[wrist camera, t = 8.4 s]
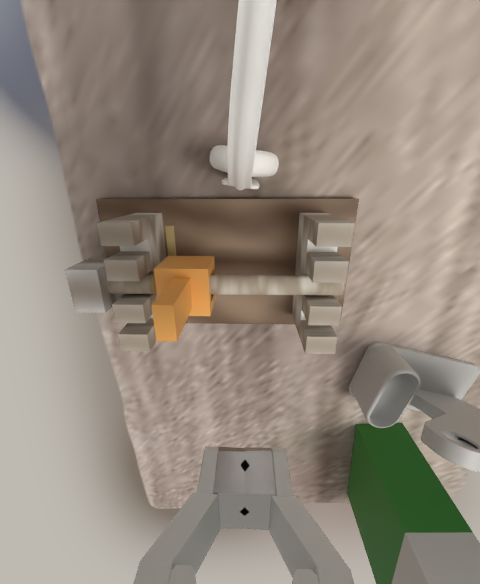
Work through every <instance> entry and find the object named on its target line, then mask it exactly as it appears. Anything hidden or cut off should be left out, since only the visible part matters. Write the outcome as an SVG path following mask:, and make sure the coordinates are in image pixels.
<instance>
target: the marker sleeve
mask: <svg viewBox="0 0 480 584" xmlns="http://www.w3.org/2000/svg"><path fill="white" fill-rule="evenodd" d="M154 275H155V283H156V291H157V299H156V300H155V301H154V302H153V304H152V305H151V306H152V313H153V321H154V328H155V335H156V341H178V338H179V336H180V334H181V332H182V330H183V327H184V325H185V323H186V321H187V319H188V316H211V312H212V309H213V305H214V302H215V298H216V294H211V287H210V275H215V263H214V256H167V257H166V258H165V259H164V260H163V261H162V262H161V263H160V264H158V265H157V266H156V267H155V268H154Z"/></svg>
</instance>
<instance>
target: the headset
mask: <svg viewBox="0 0 480 584" xmlns="http://www.w3.org/2000/svg"><path fill="white" fill-rule="evenodd" d="M276 2H277V0H239V3H238V13H237V24H236V35H235V46H234V57H233V69H232V81H231V94H230V107H229V123H228V146H225V145H217V146H215V147H213V148H212V150H211V152H210V163H211V165H212V167H214V168H215V169H218V170H220V171H223V172H227V173H228V177H226V178H224V179H223V180H222V184H224V185H228V186H233V187H235V188H236V189H237V190H240V191H241V190H243V189H245V188H250V189H259V183H258V181H257V180H256V179H252V177H269V176H273V175H274V174H275V173H276V172H277V170H278V166H279V161H278V158H277V156H276V155H275V154H273V153H271V152H266V151H260V150H256V145H257V138H258V131H259V124H260V117H261V110H262V103H263V95H264V88H265V81H266V74H267V67H268V60H269V52H270V45H271V38H272V31H273V23H274V16H275V9H276Z"/></svg>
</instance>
